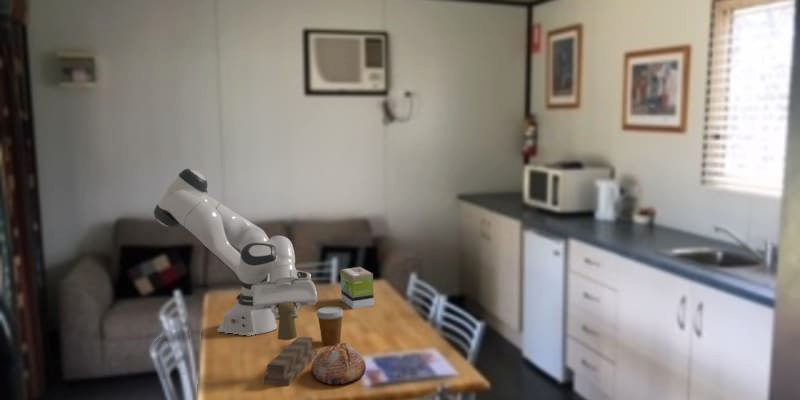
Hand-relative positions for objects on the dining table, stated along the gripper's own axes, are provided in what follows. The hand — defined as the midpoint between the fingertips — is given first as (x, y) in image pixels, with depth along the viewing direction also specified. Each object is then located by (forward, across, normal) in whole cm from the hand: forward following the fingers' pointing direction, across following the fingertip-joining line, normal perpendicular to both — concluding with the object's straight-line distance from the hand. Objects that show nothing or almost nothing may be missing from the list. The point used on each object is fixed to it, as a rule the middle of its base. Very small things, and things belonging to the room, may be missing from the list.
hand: (286, 318), depth 201 cm
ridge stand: (+11, +1, +14) cm, 18 cm away
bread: (+17, +15, +8) cm, 24 cm away
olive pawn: (+4, 0, +5) cm, 6 cm away
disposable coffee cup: (-4, +16, +29) cm, 34 cm away
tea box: (-38, +34, +64) cm, 82 cm away
